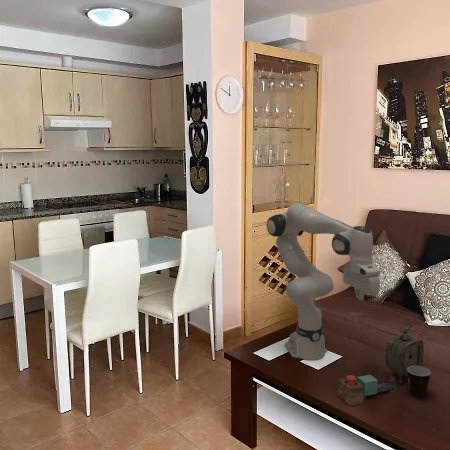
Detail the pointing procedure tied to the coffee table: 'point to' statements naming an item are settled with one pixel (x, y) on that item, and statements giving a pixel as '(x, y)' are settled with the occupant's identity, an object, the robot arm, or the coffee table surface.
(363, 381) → the block
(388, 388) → the rail
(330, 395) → the coffee table surface
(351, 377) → the red rounded peg
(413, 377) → the coffee mug
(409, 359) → the tabletop clock
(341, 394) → the wooden box
